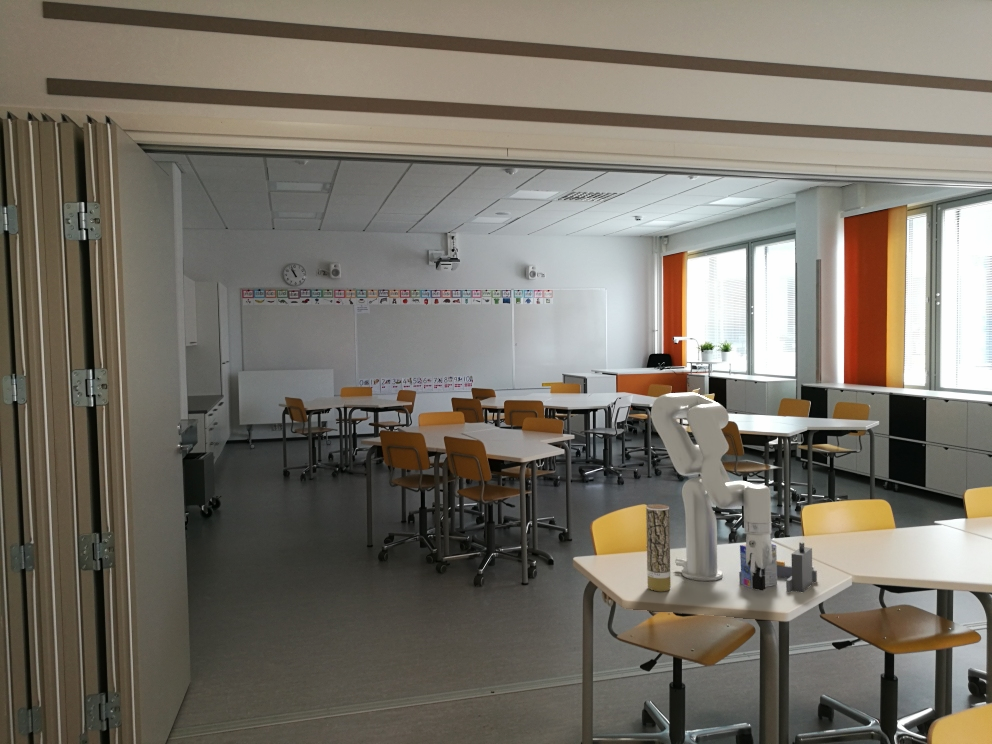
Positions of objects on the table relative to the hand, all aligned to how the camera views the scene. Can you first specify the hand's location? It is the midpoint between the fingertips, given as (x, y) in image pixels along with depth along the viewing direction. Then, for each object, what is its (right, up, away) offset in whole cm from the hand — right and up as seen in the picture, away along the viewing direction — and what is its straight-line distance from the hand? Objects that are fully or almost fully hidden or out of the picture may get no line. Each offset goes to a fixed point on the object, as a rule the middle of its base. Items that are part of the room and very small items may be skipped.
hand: (758, 589), depth 210 cm
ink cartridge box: (+3, -1, +7) cm, 8 cm away
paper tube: (-28, -2, +5) cm, 29 cm away
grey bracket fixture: (+9, -1, +9) cm, 13 cm away
